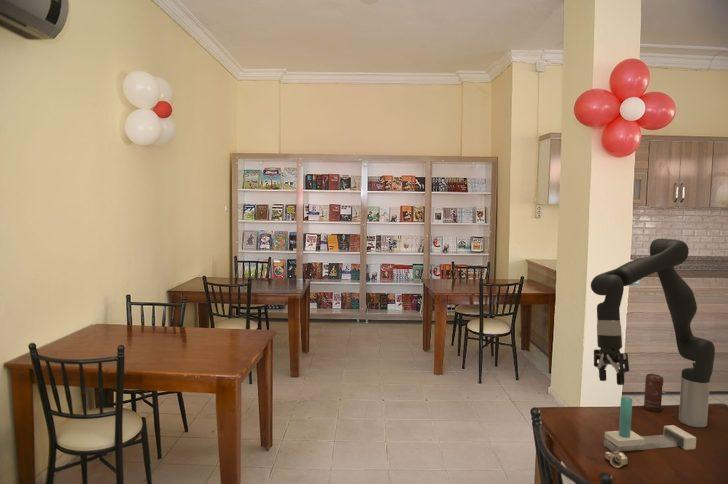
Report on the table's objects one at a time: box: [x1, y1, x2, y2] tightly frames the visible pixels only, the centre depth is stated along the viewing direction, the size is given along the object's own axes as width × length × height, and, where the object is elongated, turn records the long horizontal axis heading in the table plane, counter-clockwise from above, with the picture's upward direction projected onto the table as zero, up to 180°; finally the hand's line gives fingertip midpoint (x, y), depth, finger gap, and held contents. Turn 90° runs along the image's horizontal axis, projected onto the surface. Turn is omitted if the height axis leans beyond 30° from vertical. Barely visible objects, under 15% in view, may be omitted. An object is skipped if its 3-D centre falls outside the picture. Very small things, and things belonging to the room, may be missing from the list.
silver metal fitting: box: [604, 449, 629, 469], centre depth 167 cm, size 8×7×4 cm
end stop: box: [662, 424, 697, 451], centre depth 181 cm, size 5×10×4 cm, turn 11°
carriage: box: [604, 396, 645, 447], centre depth 176 cm, size 10×7×15 cm
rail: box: [603, 434, 679, 453], centre depth 178 cm, size 25×5×2 cm, turn 101°
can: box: [643, 373, 664, 413], centre depth 210 cm, size 6×6×14 cm
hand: (611, 382), depth 172 cm, fingers open, 8 cm apart
